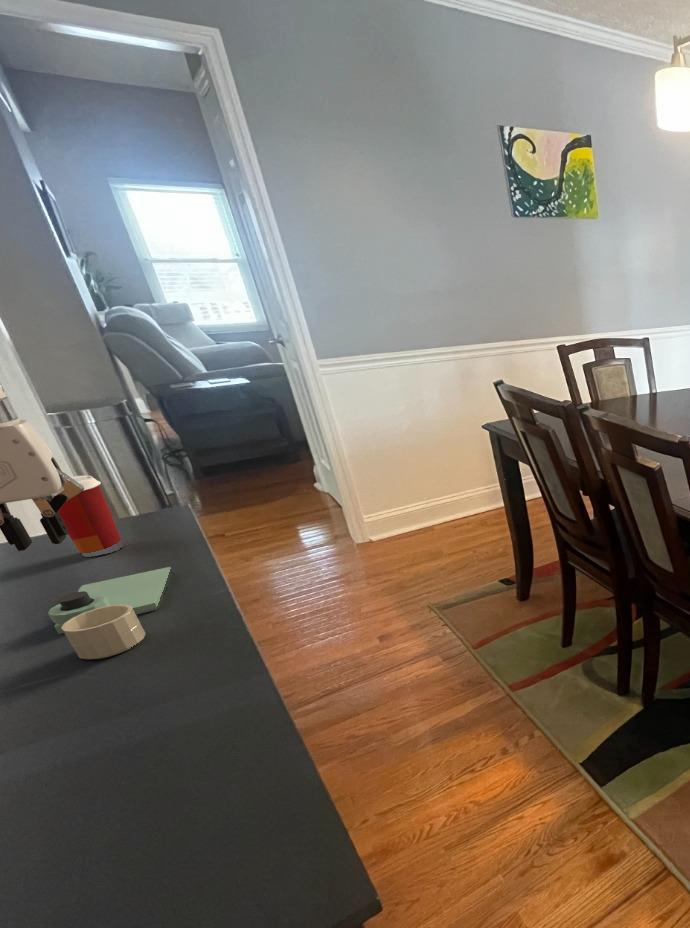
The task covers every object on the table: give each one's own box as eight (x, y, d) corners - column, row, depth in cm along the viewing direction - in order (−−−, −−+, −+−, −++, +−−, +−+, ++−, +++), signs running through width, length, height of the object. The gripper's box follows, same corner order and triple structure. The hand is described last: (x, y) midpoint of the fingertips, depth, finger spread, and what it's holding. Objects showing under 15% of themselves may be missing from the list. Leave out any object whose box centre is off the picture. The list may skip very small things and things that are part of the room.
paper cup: (125, 539, 118) (92, 471, 112) (136, 548, 113) (101, 479, 108) (69, 553, 112) (31, 483, 106) (78, 564, 108) (38, 492, 102)
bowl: (73, 668, 79) (54, 637, 77) (86, 644, 84) (69, 614, 82) (142, 650, 83) (125, 620, 81) (150, 628, 88) (135, 599, 86)
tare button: (61, 614, 87) (55, 603, 86) (67, 605, 89) (61, 595, 88) (89, 607, 89) (84, 597, 88) (94, 599, 91) (89, 589, 90)
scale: (53, 637, 86) (42, 619, 85) (81, 593, 98) (72, 577, 97) (158, 611, 92) (150, 595, 91) (173, 573, 104) (166, 558, 102)
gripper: (-146, 432, 70) (-56, 570, 78) (51, 412, 78) (115, 538, 86) (-113, 420, 76) (-32, 550, 83) (67, 402, 84) (126, 521, 92)
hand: (42, 542), depth 85 cm, fingers closed
